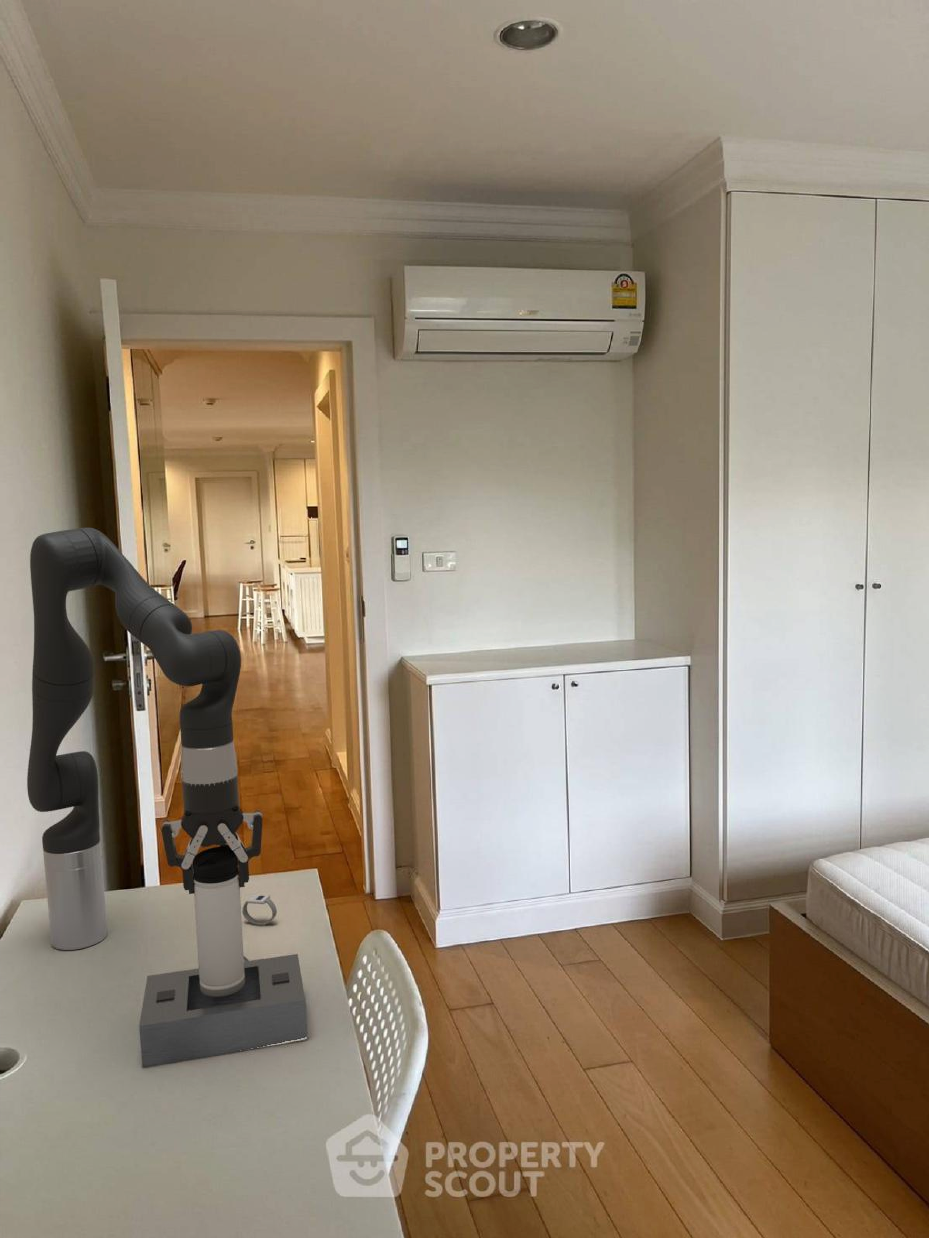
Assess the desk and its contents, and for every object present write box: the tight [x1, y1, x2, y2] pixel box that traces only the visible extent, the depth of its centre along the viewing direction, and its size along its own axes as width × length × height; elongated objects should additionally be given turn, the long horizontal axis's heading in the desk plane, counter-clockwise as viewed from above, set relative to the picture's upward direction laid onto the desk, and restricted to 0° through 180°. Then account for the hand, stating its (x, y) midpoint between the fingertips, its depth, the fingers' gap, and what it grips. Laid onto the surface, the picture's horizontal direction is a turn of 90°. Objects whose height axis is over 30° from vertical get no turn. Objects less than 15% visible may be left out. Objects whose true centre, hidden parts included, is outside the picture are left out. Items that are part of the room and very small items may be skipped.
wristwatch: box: [241, 893, 277, 926], centre depth 167 cm, size 6×3×5 cm, turn 77°
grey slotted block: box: [138, 953, 308, 1069], centre depth 133 cm, size 14×22×6 cm, turn 104°
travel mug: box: [192, 843, 245, 997], centre depth 132 cm, size 6×7×20 cm
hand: (216, 888), depth 131 cm, fingers closed on travel mug, 6 cm apart
